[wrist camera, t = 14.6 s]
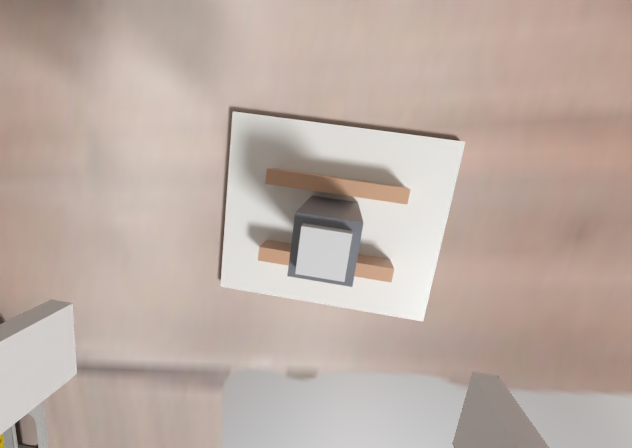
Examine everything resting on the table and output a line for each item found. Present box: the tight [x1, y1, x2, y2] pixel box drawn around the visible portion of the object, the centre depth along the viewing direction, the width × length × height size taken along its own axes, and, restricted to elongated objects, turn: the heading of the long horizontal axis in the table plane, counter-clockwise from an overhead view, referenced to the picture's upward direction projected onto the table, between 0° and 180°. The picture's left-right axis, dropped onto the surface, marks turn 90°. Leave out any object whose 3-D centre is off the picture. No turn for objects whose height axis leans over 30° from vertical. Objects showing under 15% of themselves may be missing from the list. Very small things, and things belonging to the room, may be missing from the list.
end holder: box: [220, 111, 465, 321], centre depth 32 cm, size 20×24×4 cm
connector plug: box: [287, 195, 363, 287], centre depth 27 cm, size 5×5×12 cm
